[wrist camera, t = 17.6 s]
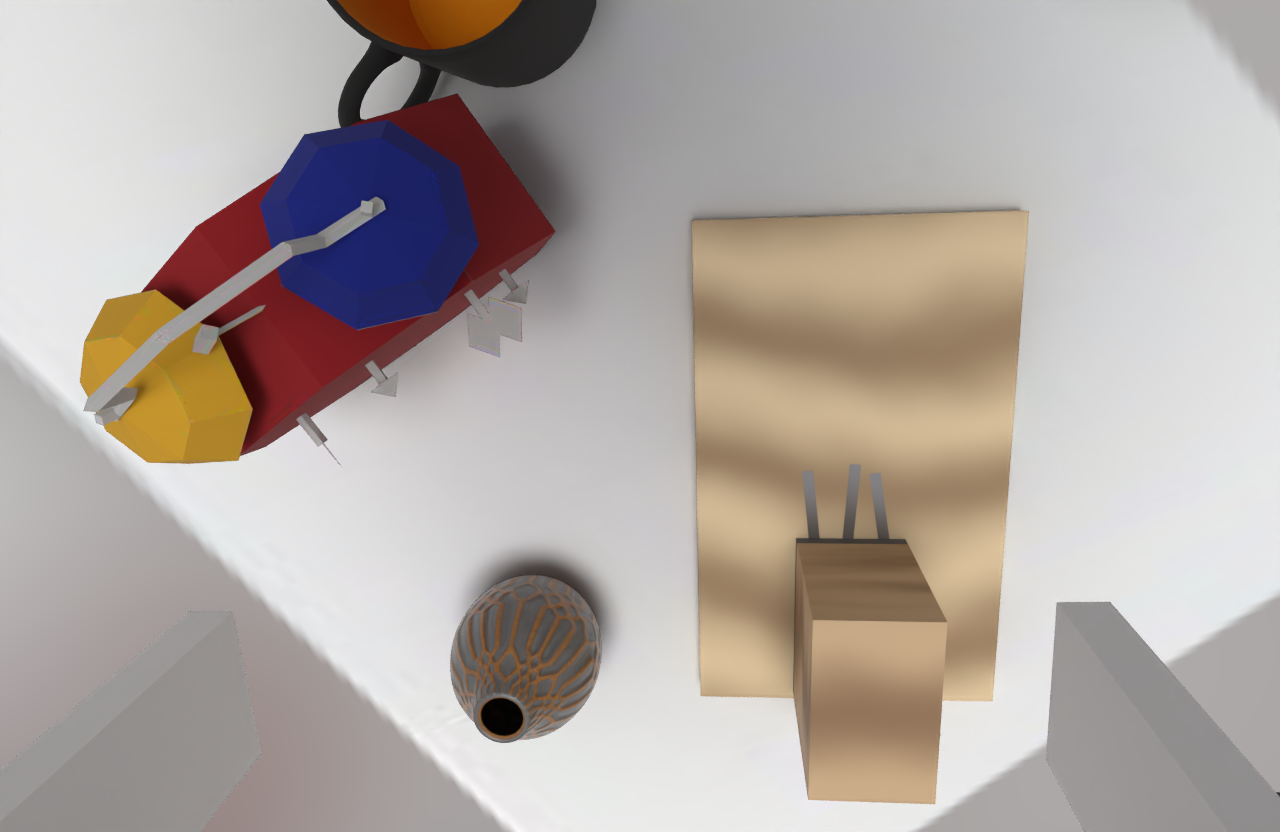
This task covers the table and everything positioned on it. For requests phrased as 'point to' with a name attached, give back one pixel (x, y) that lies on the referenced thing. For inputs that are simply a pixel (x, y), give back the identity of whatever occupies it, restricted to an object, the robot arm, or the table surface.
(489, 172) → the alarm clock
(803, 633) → the wooden block
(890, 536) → the board
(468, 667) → the vase
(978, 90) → the table surface
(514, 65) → the mug
